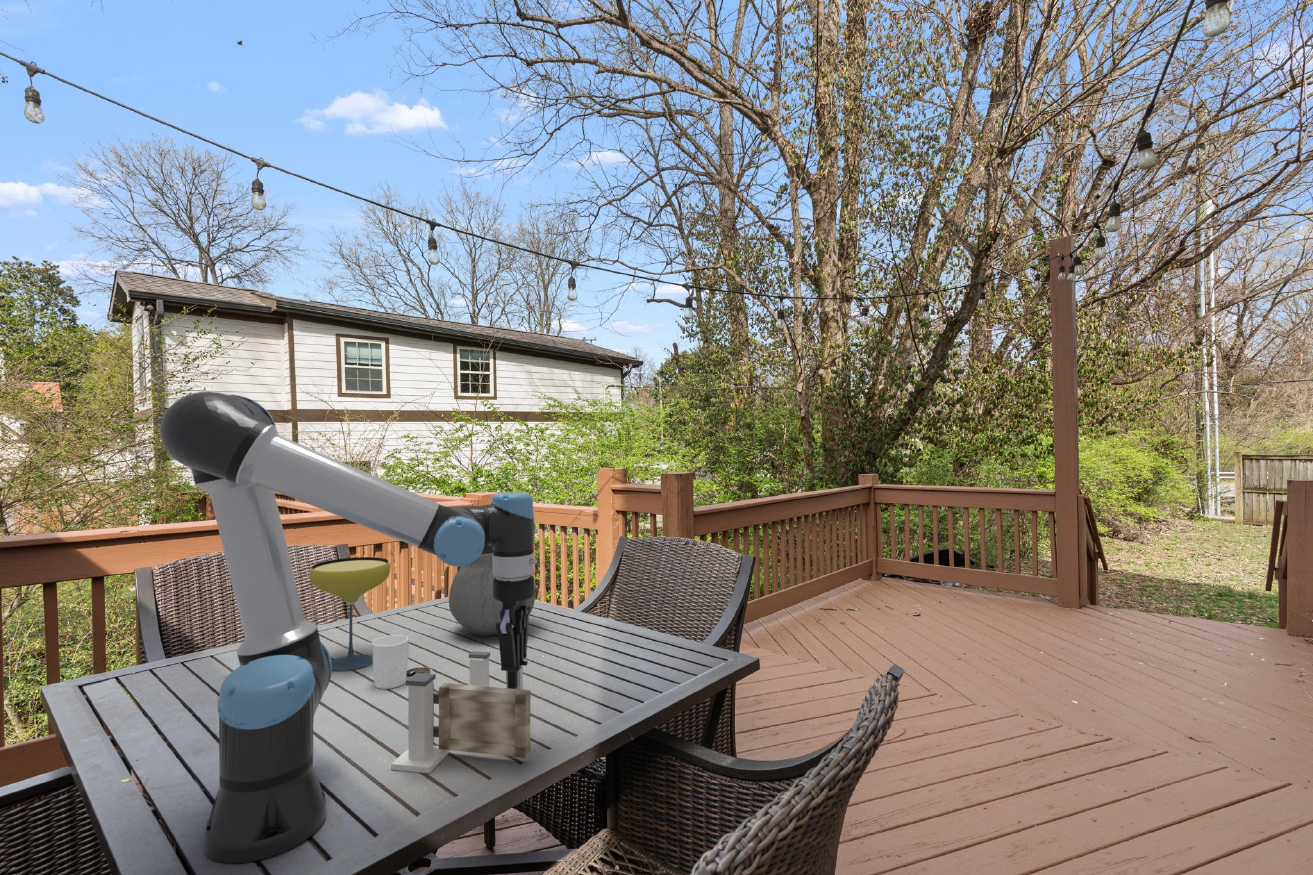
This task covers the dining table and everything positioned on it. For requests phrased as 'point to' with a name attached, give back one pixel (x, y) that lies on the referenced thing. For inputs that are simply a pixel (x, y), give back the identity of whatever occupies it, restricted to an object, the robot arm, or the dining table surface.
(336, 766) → the dining table surface
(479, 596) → the ceramic pot
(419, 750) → the hinge post
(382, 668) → the white cup
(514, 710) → the gate
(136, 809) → the dining table surface
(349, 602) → the cocktail glass
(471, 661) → the latch post
